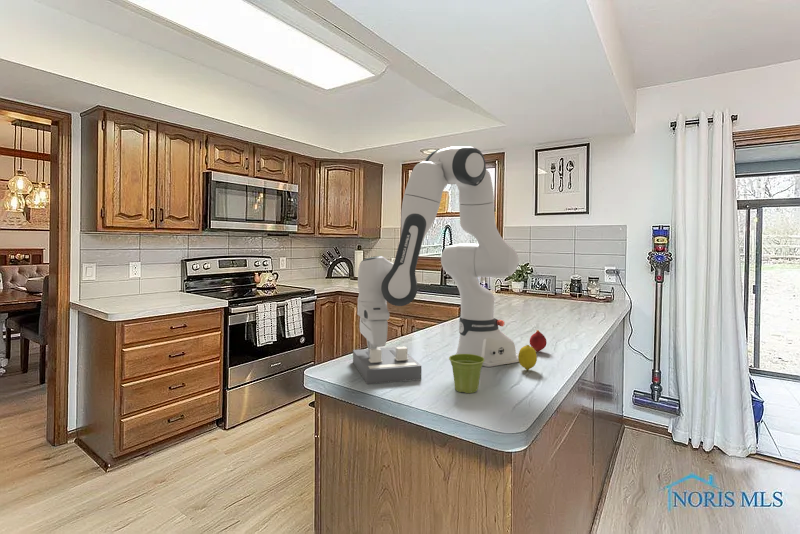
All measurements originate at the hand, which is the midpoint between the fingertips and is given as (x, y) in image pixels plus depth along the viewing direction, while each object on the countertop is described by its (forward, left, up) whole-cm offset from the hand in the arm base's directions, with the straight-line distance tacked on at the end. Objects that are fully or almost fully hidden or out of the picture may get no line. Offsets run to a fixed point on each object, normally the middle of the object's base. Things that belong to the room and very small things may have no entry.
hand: (371, 354), depth 132 cm
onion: (-63, -6, -5) cm, 63 cm away
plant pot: (-21, +23, -5) cm, 32 cm away
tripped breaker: (0, +5, -1) cm, 5 cm away
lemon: (-47, +12, -5) cm, 49 cm away
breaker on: (-8, +5, -1) cm, 9 cm away
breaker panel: (-4, +1, -5) cm, 6 cm away
